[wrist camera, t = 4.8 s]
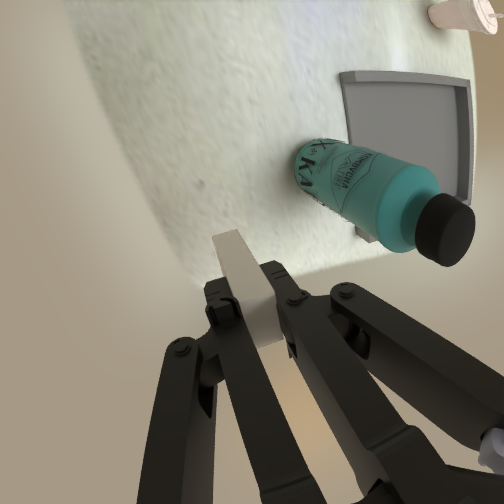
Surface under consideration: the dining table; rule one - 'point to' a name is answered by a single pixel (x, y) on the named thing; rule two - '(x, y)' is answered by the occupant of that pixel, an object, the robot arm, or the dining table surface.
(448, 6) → the smoothie
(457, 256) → the beverage bottle
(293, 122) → the dining table surface
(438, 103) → the charcoal tray
